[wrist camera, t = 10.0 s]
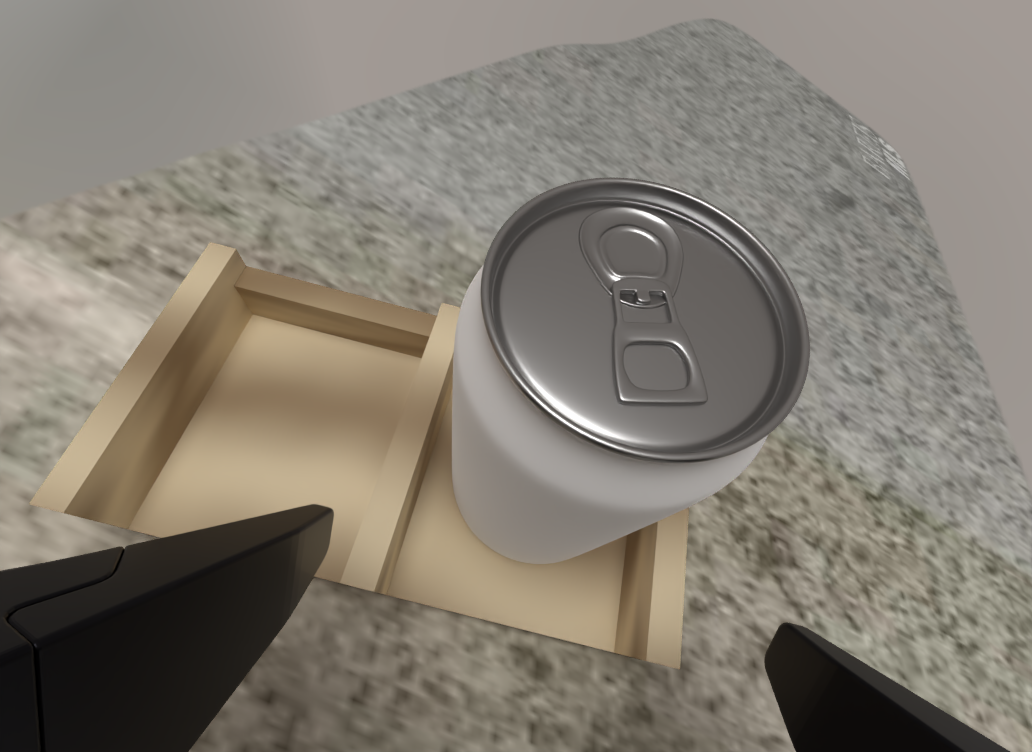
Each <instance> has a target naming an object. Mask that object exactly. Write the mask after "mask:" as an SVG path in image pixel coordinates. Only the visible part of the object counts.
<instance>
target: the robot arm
mask: <svg viewBox="0 0 1032 752" xmlns="http://www.w3.org/2000/svg"><path fill="white" fill-rule="evenodd" d="M333 519H334V511H333V509H332V508H330V507H326V506H322V505H318V504H310V505H306V506H301V507H297V508H293V509H288V510H284V511H279V512H275V513H270V514H266V515H261V516H257V517H253V518H248V519H244V520H239V521H235V522H230V523H226V524H222V525H217V526H213V527H208V528H204V529H199V530H195V531H191V532H186V533H182V534H177V535H173V536H168V537H164V538H159V539H155V540H151V541H146V542H142V543H137V544H133V545H128V546H126V547H125V549H124V548H123V547H116V548H111V549H107V550H103V551H98V552H94V553H89V554H84V555H79V556H75V557H70V558H65V559H60V560H56V561H51V562H45V563H40V564H35V565H29V566H24V567H19V568H13V569H8V570H2V571H0V752H189V750H190V749H191V748H192V746H193V745H194V744H195V742H196V741H197V740H198V738H199V737H200V736H201V734H202V733H203V732H204V730H205V729H206V728H207V726H208V725H209V724H210V723H211V721H212V720H213V719H214V717H215V716H216V715H217V713H218V712H219V711H220V709H221V708H222V707H223V705H224V704H225V703H226V701H227V700H228V699H229V697H230V696H231V695H232V693H233V692H234V691H235V690H236V688H237V687H238V686H239V684H240V683H241V682H242V680H243V679H244V678H245V676H246V675H247V674H248V672H249V671H250V670H251V668H252V667H253V666H254V664H255V663H256V662H257V661H258V659H259V658H260V657H261V655H262V654H263V653H264V651H265V650H266V649H267V647H268V646H269V645H270V643H271V642H272V641H273V639H274V638H275V637H276V635H277V634H278V633H279V631H280V630H281V629H282V627H283V626H284V625H285V623H286V622H287V620H288V619H289V617H290V616H291V614H292V613H293V611H294V609H295V608H296V606H297V604H298V603H299V601H300V599H301V597H302V596H303V594H304V592H305V591H306V589H307V587H308V586H309V584H310V582H311V580H312V579H313V577H314V575H315V574H316V572H317V570H318V568H319V567H320V565H321V563H322V562H323V560H324V558H325V556H326V554H327V551H328V548H329V545H330V539H331V532H332V525H333ZM764 663H765V669H766V672H767V675H768V678H769V680H770V683H771V686H772V689H773V692H774V694H775V697H776V700H777V703H778V705H779V708H780V711H781V714H782V717H783V719H784V722H785V725H786V728H787V730H788V733H789V736H790V738H791V741H792V743H793V746H794V748H795V750H796V752H1010V751H1008V750H1007V749H1005V748H1003V747H1002V746H1000V745H998V744H997V743H995V742H993V741H992V740H990V739H988V738H987V737H985V736H984V735H982V734H980V733H979V732H977V731H975V730H974V729H972V728H970V727H969V726H967V725H965V724H964V723H962V722H960V721H959V720H957V719H956V718H954V717H952V716H951V715H949V714H947V713H946V712H944V711H942V710H941V709H939V708H937V707H936V706H934V705H933V704H931V703H929V702H928V701H926V700H924V699H923V698H921V697H919V696H918V695H916V694H914V693H913V692H911V691H910V690H908V689H906V688H905V687H903V686H901V685H900V684H898V683H896V682H895V681H893V680H891V679H890V678H888V677H886V676H885V675H883V674H882V673H880V672H878V671H877V670H875V669H873V668H872V667H870V666H868V665H867V664H865V663H863V662H862V661H860V660H859V659H857V658H855V657H854V656H852V655H850V654H849V653H847V652H845V651H844V650H842V649H840V648H839V647H837V646H836V645H834V644H832V643H831V642H829V641H827V640H826V639H824V638H822V637H821V636H819V635H817V634H816V633H814V632H813V631H811V630H809V629H808V628H805V627H803V626H799V625H795V624H791V623H783V624H781V625H780V626H779V628H778V630H777V632H776V634H775V636H774V638H773V640H772V641H771V643H770V645H769V647H768V649H767V651H766V654H765V662H764Z"/></svg>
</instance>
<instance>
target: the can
mask: <svg viewBox="0 0 1032 752" xmlns="http://www.w3.org/2000/svg"><path fill="white" fill-rule="evenodd" d="M809 357H810V341H809V331H808V325H807V321H806V317H805V313H804V310H803V307H802V304H801V301H800V299H799V296H798V294H797V292H796V290H795V288H794V286H793V284H792V282H791V280H790V278H789V277H788V275H787V273H786V272H785V270H784V269H783V267H782V266H781V264H780V263H779V262H778V260H777V259H776V258H775V256H774V255H773V254H772V253H771V252H770V250H769V249H768V248H767V247H766V246H765V245H764V244H763V243H762V242H761V241H760V240H759V239H758V238H757V237H756V236H755V235H754V234H753V233H752V232H751V231H750V230H748V229H747V228H746V227H745V226H744V225H742V224H741V223H740V222H738V221H737V220H736V219H734V218H733V217H732V216H730V215H729V214H727V213H726V212H724V211H722V210H721V209H719V208H718V207H716V206H714V205H712V204H710V203H709V202H707V201H705V200H703V199H701V198H699V197H696V196H694V195H692V194H689V193H687V192H684V191H682V190H679V189H676V188H673V187H670V186H666V185H663V184H659V183H655V182H650V181H645V180H638V179H629V178H595V179H587V180H581V181H576V182H572V183H568V184H564V185H561V186H558V187H556V188H553V189H551V190H548V191H546V192H544V193H542V194H540V195H538V196H536V197H535V198H533V199H531V200H530V201H528V202H527V203H526V204H524V205H523V206H522V207H520V208H519V209H518V210H517V211H516V212H515V213H514V214H513V215H512V216H511V217H510V218H509V219H508V220H507V221H506V222H505V223H504V225H503V226H502V227H501V229H500V230H499V232H498V233H497V235H496V236H495V238H494V240H493V242H492V244H491V246H490V248H489V251H488V253H487V256H486V259H485V262H484V265H483V266H482V267H481V269H480V270H479V271H478V273H477V274H476V276H475V277H474V279H473V280H472V282H471V284H470V286H469V288H468V290H467V292H466V294H465V297H464V299H463V302H462V305H461V308H460V312H459V316H458V321H457V325H456V331H455V341H454V355H453V391H452V482H453V490H454V495H455V499H456V502H457V505H458V508H459V510H460V512H461V515H462V517H463V518H464V520H465V522H466V523H467V525H468V526H469V528H470V529H471V530H472V532H473V533H474V534H475V535H476V536H477V537H478V538H479V539H480V540H481V541H482V542H483V543H484V544H485V545H487V546H488V547H489V548H491V549H492V550H494V551H495V552H497V553H499V554H501V555H503V556H505V557H507V558H510V559H512V560H515V561H519V562H524V563H530V564H550V563H557V562H561V561H564V560H568V559H571V558H573V557H576V556H579V555H581V554H583V553H586V552H588V551H591V550H593V549H595V548H598V547H600V546H602V545H605V544H607V543H609V542H612V541H614V540H616V539H619V538H621V537H623V536H626V535H628V534H630V533H632V532H635V531H637V530H639V529H642V528H644V527H646V526H648V525H651V524H653V523H655V522H657V521H660V520H662V519H664V518H666V517H669V516H671V515H673V514H675V513H677V512H679V511H682V510H684V509H686V508H688V507H690V506H692V505H694V504H696V503H698V502H700V501H702V500H704V499H706V498H707V497H709V496H711V495H713V494H714V493H716V492H718V491H719V490H721V489H722V488H723V487H725V486H726V485H727V484H729V483H730V482H731V481H733V480H734V479H735V478H736V477H737V476H739V475H740V474H741V473H742V472H743V471H744V470H745V469H746V468H747V467H748V465H749V464H750V463H751V462H752V461H753V459H754V458H755V457H756V455H757V454H758V452H759V451H760V449H761V447H762V446H763V444H764V442H765V440H766V438H767V436H768V434H769V433H771V432H772V431H773V430H774V429H775V428H776V427H777V426H778V425H779V424H780V423H781V422H782V421H783V420H784V419H785V418H786V416H787V415H788V414H789V412H790V411H791V410H792V408H793V407H794V405H795V403H796V402H797V400H798V398H799V396H800V393H801V391H802V389H803V386H804V383H805V380H806V376H807V372H808V366H809Z"/></svg>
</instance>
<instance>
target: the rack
mask: <svg viewBox="0 0 1032 752" xmlns="http://www.w3.org/2000/svg"><path fill="white" fill-rule="evenodd" d="M459 312H460V307H456V306H452V305H448V304H444V303H442V304H441V307H440V310H439V312H438V315H437V316H435V315H431V314H428V313H424V312H420V311H416V310H412V309H409V308H405V307H401V306H397V305H393V304H389V303H386V302H382V301H378V300H374V299H370V298H366V297H363V296H359V295H355V294H351V293H347V292H343V291H340V290H336V289H332V288H328V287H324V286H320V285H317V284H313V283H309V282H305V281H301V280H297V279H294V278H290V277H286V276H282V275H278V274H274V273H271V272H267V271H263V270H259V269H255V268H251V267H248V266H246V265H245V263H244V262H243V260H242V258H241V257H240V255H239V253H238V252H237V250H236V249H234V248H230V247H226V246H223V245H219V244H215V243H211V242H210V243H209V245H208V246H207V247H206V249H205V250H204V252H203V253H202V255H201V256H200V258H199V259H198V260H197V262H196V263H195V265H194V266H193V268H192V269H191V271H190V272H189V273H188V275H187V276H186V278H185V279H184V281H183V282H182V284H181V285H180V286H179V288H178V289H177V291H176V292H175V294H174V295H173V297H172V298H171V299H170V301H169V302H168V304H167V305H166V307H165V308H164V310H163V311H162V312H161V314H160V315H159V317H158V318H157V320H156V321H155V323H154V324H153V325H152V327H151V328H150V330H149V331H148V333H147V334H146V335H145V337H144V338H143V340H142V341H141V343H140V344H139V346H138V347H137V348H136V350H135V351H134V353H133V354H132V356H131V357H130V359H129V360H128V361H127V363H126V364H125V366H124V367H123V369H122V370H121V372H120V373H119V374H118V376H117V377H116V379H115V380H114V382H113V383H112V385H111V386H110V387H109V389H108V390H107V392H106V393H105V395H104V396H103V398H102V399H101V400H100V402H99V403H98V405H97V406H96V408H95V409H94V411H93V412H92V413H91V415H90V416H89V418H88V419H87V421H86V422H85V423H84V425H83V426H82V428H81V429H80V431H79V432H78V434H77V435H76V436H75V438H74V439H73V441H72V442H71V444H70V445H69V447H68V448H67V449H66V451H65V452H64V454H63V455H62V457H61V458H60V460H59V461H58V462H57V464H56V465H55V467H54V468H53V470H52V471H51V473H50V474H49V475H48V477H47V478H46V480H45V481H44V483H43V484H42V486H41V487H40V488H39V490H38V491H37V493H36V494H35V496H34V497H33V498H32V500H31V501H30V503H29V504H30V505H34V506H38V507H42V508H46V509H50V510H54V511H58V512H62V513H66V514H70V515H74V516H78V517H81V518H85V519H89V520H93V521H97V522H101V523H105V524H109V525H113V526H117V527H121V528H125V529H129V530H133V531H137V532H141V533H145V534H149V535H153V536H157V537H160V538H164V537H168V536H173V535H177V534H182V533H186V532H191V531H195V530H199V529H204V528H208V527H213V526H217V525H222V524H226V523H230V522H235V521H239V520H244V519H248V518H253V517H257V516H261V515H266V514H270V513H275V512H279V511H284V510H288V509H293V508H297V507H301V506H306V505H310V504H318V505H322V506H326V507H330V508H332V509H333V511H334V519H333V525H332V532H331V539H330V545H329V548H328V551H327V554H326V556H325V558H324V560H323V562H322V563H321V565H320V567H319V568H318V570H317V572H316V574H315V575H314V577H318V578H322V579H326V580H330V581H334V582H338V583H341V584H345V585H349V586H353V587H357V588H361V589H365V590H369V591H373V592H377V593H381V594H385V595H389V596H393V597H397V598H401V599H405V600H408V601H412V602H416V603H420V604H424V605H428V606H432V607H436V608H440V609H444V610H448V611H452V612H456V613H460V614H464V615H468V616H471V617H475V618H479V619H483V620H487V621H491V622H495V623H499V624H503V625H507V626H511V627H515V628H519V629H523V630H527V631H530V632H534V633H538V634H542V635H546V636H550V637H554V638H558V639H562V640H566V641H570V642H574V643H578V644H582V645H586V646H590V647H593V648H597V649H601V650H605V651H609V652H613V653H617V654H621V655H625V656H629V657H633V658H637V659H640V660H644V661H648V662H652V663H656V664H660V665H664V666H668V667H672V668H676V669H680V660H681V642H682V624H683V606H684V588H685V570H686V552H687V534H688V516H689V507H688V508H686V509H684V510H682V511H679V512H677V513H675V514H673V515H671V516H669V517H666V518H664V519H662V520H660V521H657V522H655V523H653V524H651V525H648V526H646V527H644V528H642V529H639V530H637V531H635V532H632V533H630V534H628V535H626V536H623V537H621V538H619V539H616V540H614V541H612V542H609V543H607V544H605V545H602V546H600V547H598V548H595V549H593V550H591V551H588V552H586V553H583V554H581V555H579V556H576V557H573V558H571V559H568V560H564V561H561V562H557V563H550V564H530V563H524V562H519V561H515V560H512V559H510V558H507V557H505V556H503V555H501V554H499V553H497V552H495V551H494V550H492V549H491V548H489V547H488V546H487V545H485V544H484V543H483V542H482V541H481V540H480V539H479V538H478V537H477V536H476V535H475V534H474V533H473V532H472V530H471V529H470V528H469V526H468V525H467V523H466V522H465V520H464V518H463V517H462V515H461V512H460V510H459V508H458V505H457V502H456V499H455V495H454V490H453V482H452V391H453V355H454V341H455V331H456V325H457V321H458V316H459Z"/></svg>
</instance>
